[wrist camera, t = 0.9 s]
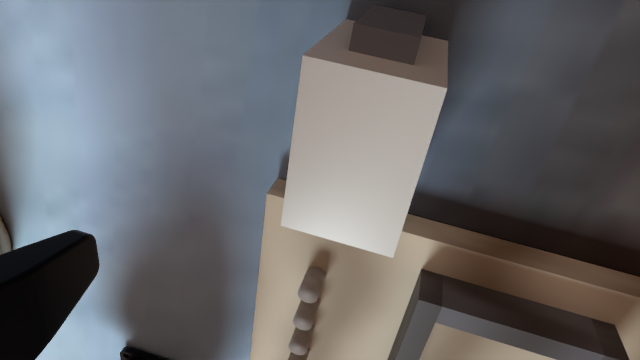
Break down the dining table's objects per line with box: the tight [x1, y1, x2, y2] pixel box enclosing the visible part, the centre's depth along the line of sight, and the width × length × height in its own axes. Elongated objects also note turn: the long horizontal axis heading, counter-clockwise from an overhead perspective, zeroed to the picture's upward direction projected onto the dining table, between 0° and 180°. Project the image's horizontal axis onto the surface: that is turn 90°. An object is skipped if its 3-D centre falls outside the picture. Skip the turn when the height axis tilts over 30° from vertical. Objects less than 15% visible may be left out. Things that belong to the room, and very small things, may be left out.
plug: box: [281, 5, 448, 258], centre depth 15 cm, size 4×7×6 cm, turn 171°
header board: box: [250, 178, 640, 360], centre depth 22 cm, size 20×14×4 cm
